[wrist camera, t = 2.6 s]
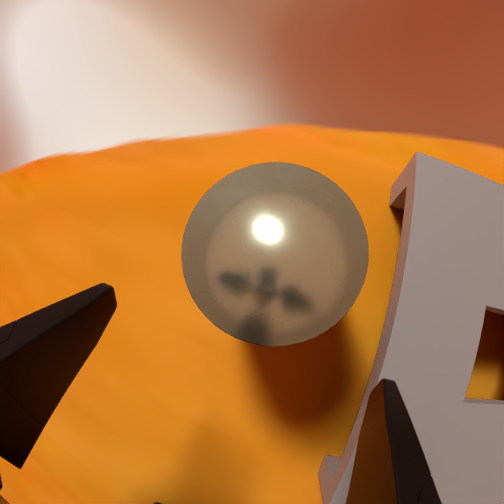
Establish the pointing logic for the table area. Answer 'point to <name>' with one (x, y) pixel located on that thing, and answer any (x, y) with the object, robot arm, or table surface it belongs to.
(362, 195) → the table surface
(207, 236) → the grey beige cylinder
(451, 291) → the base
